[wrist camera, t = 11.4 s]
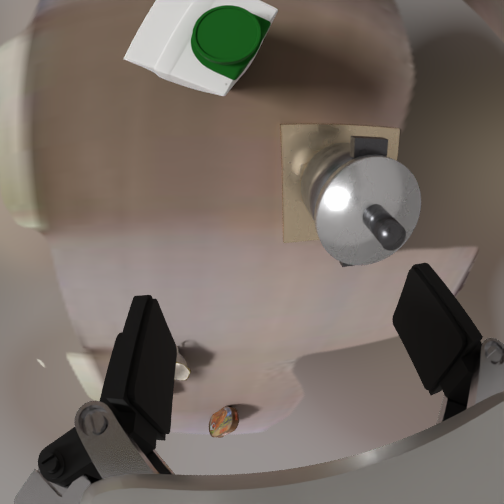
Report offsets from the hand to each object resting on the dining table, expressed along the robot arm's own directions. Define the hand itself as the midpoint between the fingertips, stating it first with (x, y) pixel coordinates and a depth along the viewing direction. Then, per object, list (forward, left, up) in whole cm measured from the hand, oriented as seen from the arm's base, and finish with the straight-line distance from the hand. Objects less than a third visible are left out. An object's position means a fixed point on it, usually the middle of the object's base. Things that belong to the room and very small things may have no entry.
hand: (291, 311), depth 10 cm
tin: (+77, -13, -31) cm, 84 cm away
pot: (+7, +14, -30) cm, 34 cm away
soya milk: (-12, -3, -30) cm, 33 cm away
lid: (+7, +14, -20) cm, 25 cm away
